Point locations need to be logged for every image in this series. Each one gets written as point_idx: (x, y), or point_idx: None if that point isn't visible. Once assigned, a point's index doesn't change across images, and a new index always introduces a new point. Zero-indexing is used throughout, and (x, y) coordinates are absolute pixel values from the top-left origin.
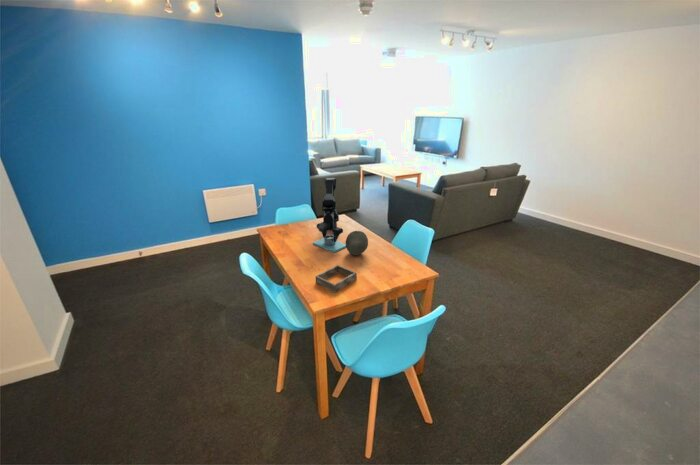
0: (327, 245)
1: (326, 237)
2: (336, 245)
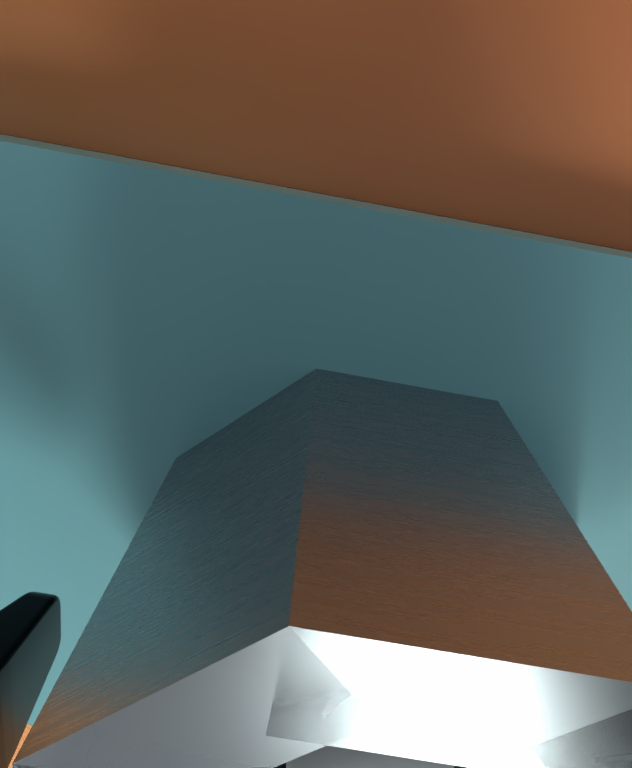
0: (329, 377)
1: (512, 763)
2: (74, 541)
